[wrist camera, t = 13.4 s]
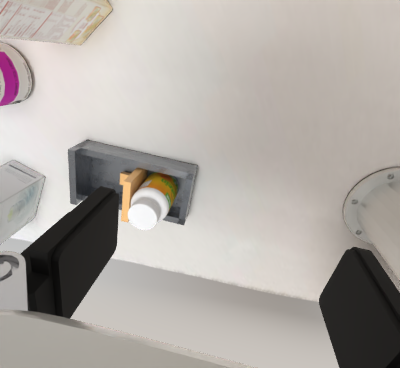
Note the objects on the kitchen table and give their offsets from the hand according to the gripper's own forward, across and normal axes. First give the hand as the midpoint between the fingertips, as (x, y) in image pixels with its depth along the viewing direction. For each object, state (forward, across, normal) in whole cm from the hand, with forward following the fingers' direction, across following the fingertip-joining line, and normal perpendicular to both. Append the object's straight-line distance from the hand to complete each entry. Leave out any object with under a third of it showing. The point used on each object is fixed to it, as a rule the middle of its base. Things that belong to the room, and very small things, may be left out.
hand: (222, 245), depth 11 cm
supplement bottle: (+28, +9, +13) cm, 32 cm away
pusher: (+28, +14, +13) cm, 33 cm away
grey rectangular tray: (+28, +13, +13) cm, 34 cm away
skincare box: (+29, +34, +21) cm, 49 cm away
